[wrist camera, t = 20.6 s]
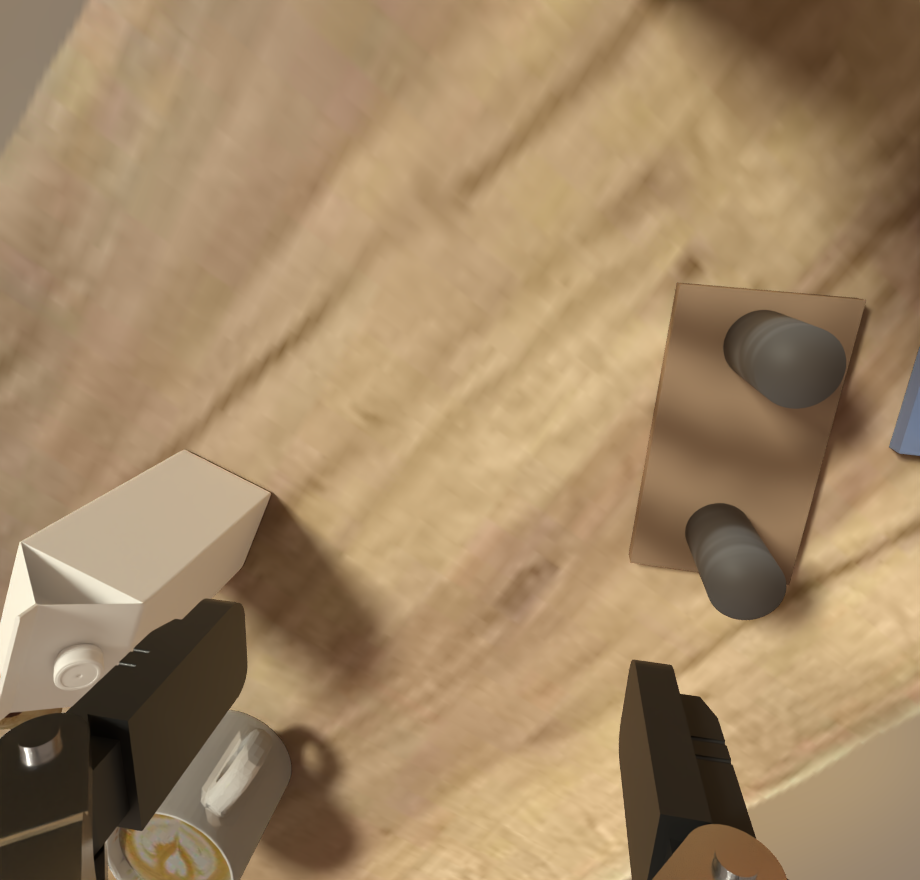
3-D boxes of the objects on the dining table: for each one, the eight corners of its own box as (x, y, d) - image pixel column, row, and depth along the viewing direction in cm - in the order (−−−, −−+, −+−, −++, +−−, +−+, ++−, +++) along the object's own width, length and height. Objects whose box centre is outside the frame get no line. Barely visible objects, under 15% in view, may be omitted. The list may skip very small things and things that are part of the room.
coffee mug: (239, 819, 57) (174, 935, 48) (160, 742, 56) (77, 846, 46) (343, 755, 53) (295, 868, 43) (260, 670, 51) (192, 767, 42)
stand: (676, 282, 38) (704, 294, 30) (856, 298, 37) (932, 314, 29) (628, 554, 43) (642, 621, 36) (782, 575, 42) (830, 649, 35)
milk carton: (159, 525, 49) (-76, 694, 31) (185, 447, 46) (-54, 581, 28) (243, 567, 49) (56, 760, 31) (273, 491, 46) (89, 653, 28)
